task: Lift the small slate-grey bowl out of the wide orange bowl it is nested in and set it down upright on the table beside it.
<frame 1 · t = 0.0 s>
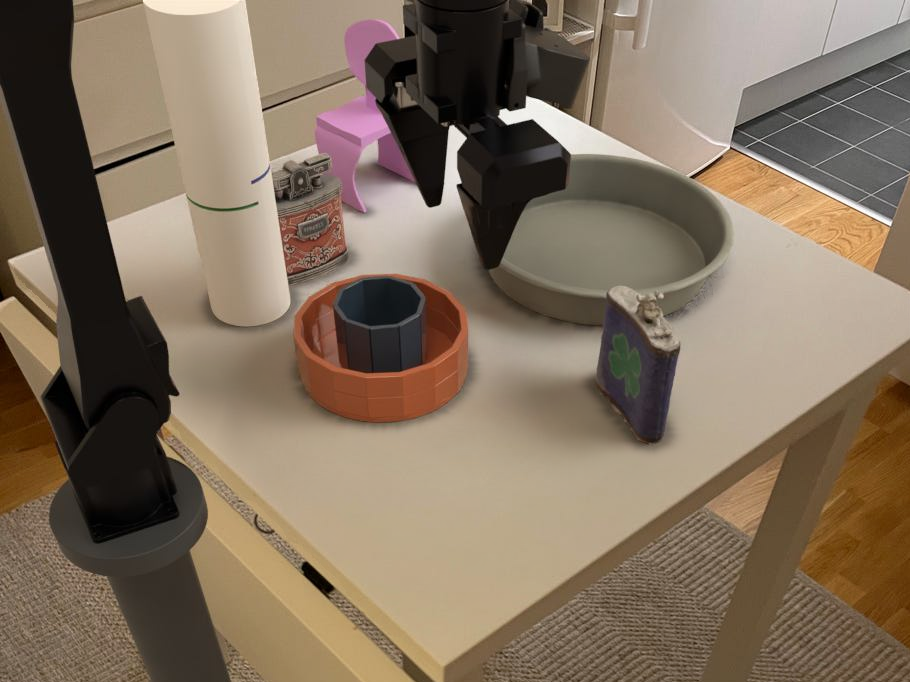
hand: (461, 235, 72), 14 cm above the table, tool pointing down, fingers open, 9 cm apart
toy chair: (370, 189, 104), on the table
small bowl: (381, 333, 82), in the orange bowl
cake pan: (595, 263, 96), on the table
cylindrical container: (251, 305, 91), on the table
lighter: (311, 269, 94), on the table
flask: (629, 411, 83), on the table
orange bowl: (384, 368, 85), on the table, touching small bowl
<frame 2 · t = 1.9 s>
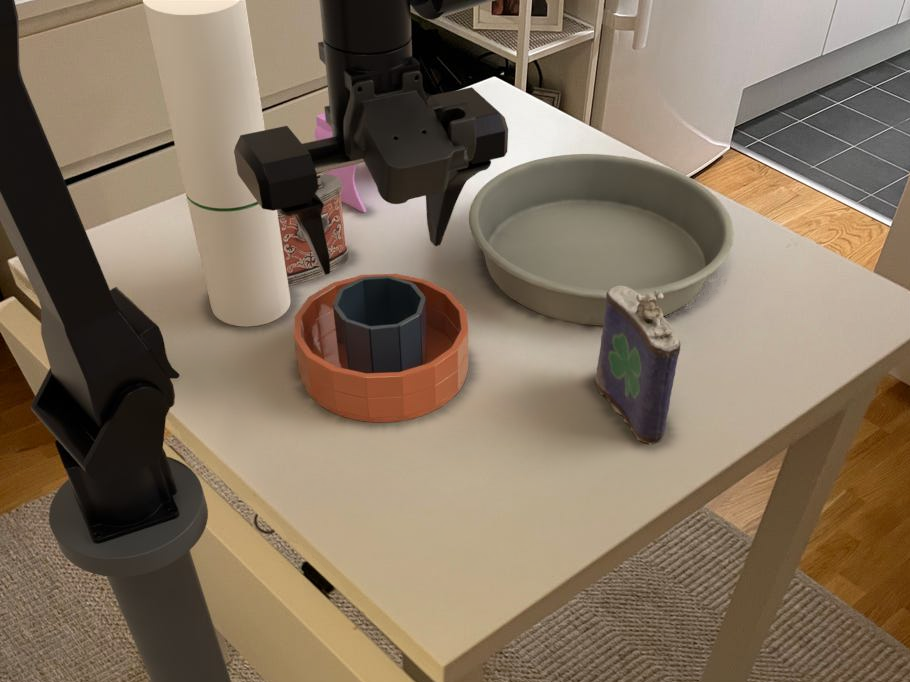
hand: (381, 257, 77), 11 cm above the table, tool pointing down, fingers open, 9 cm apart
nothing on the table moved.
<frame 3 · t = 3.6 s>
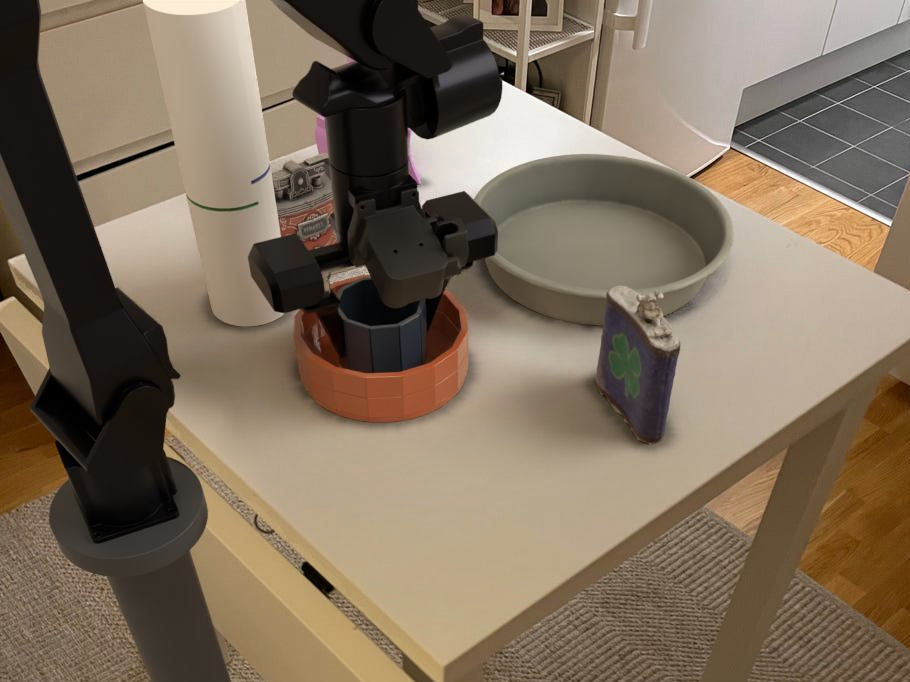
hand: (382, 343, 83), 3 cm above the table, tool pointing down, fingers closed on small bowl, 7 cm apart
small bowl: (381, 333, 82), in the orange bowl, touching gripper
everything else where it was.
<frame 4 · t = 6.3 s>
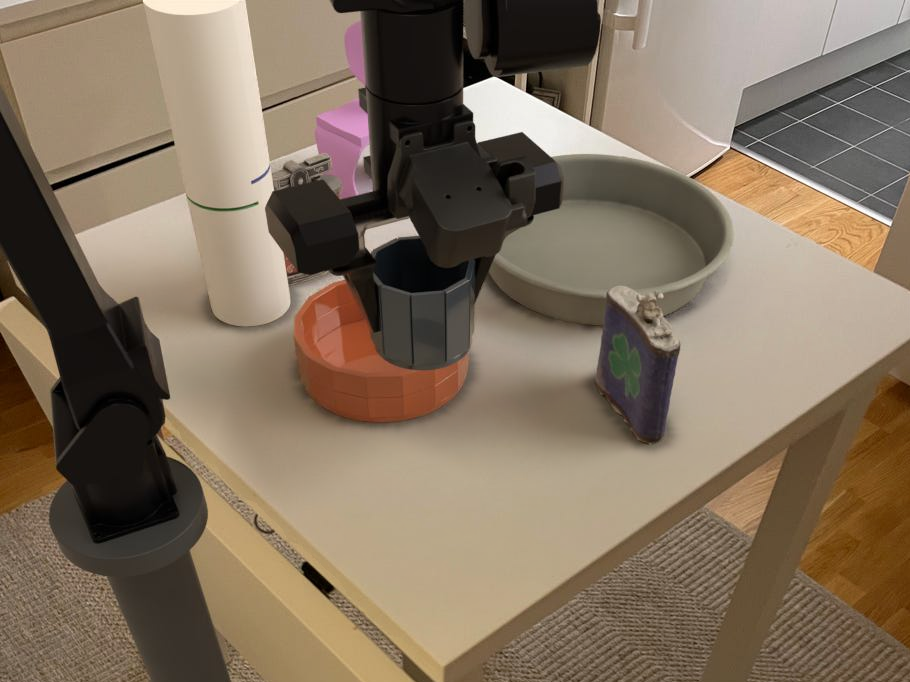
hand: (421, 315, 70), 12 cm above the table, tool pointing down, fingers closed on small bowl, 7 cm apart
small bowl: (421, 303, 69), point 13 cm above the table, touching gripper
orange bowl: (384, 368, 85), on the table
everything else where it was.
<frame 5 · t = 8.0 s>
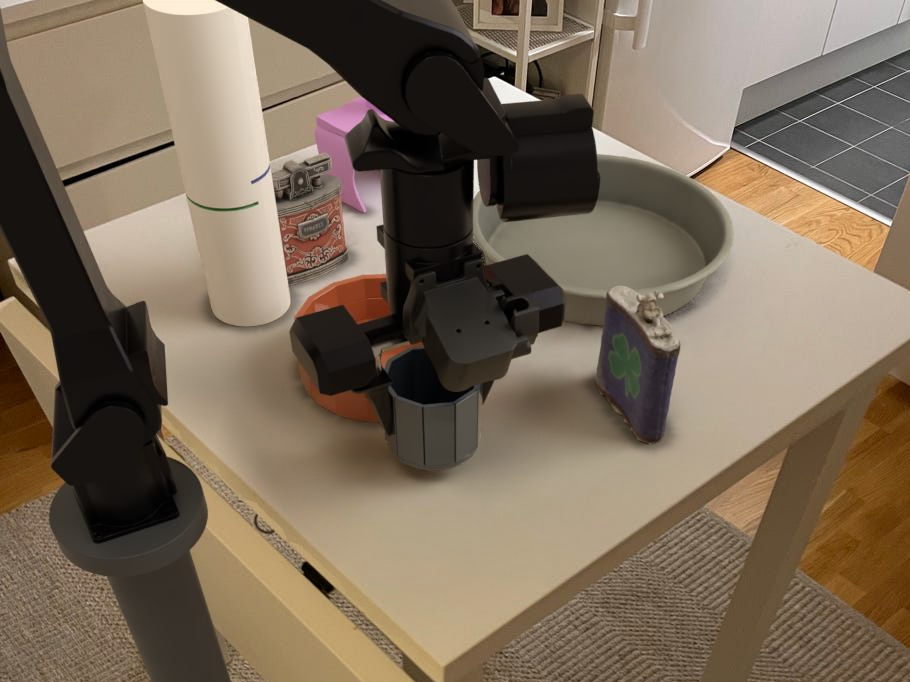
hand: (432, 418, 75), 4 cm above the table, tool pointing down, fingers closed on small bowl, 7 cm apart
small bowl: (432, 407, 75), point 5 cm above the table, touching gripper
everything else where it was.
when the fingers open (2 cm above the table, at t = 9.2 s): small bowl stays where it is, on the table.
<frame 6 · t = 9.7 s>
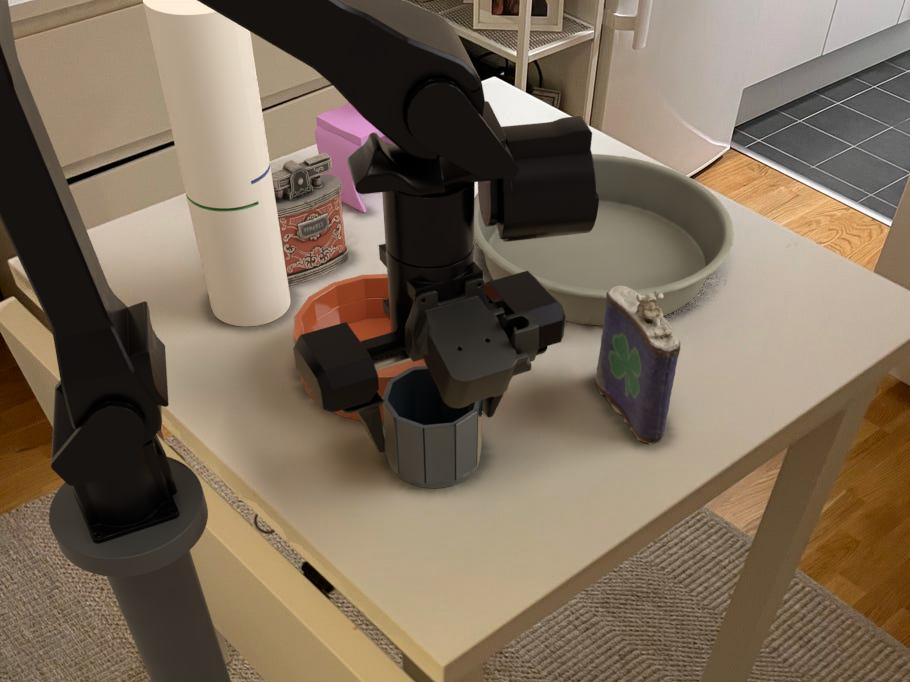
hand: (434, 431, 76), 3 cm above the table, tool pointing down, fingers open, 9 cm apart
small bowl: (433, 427, 76), on the table
everything else where it was.
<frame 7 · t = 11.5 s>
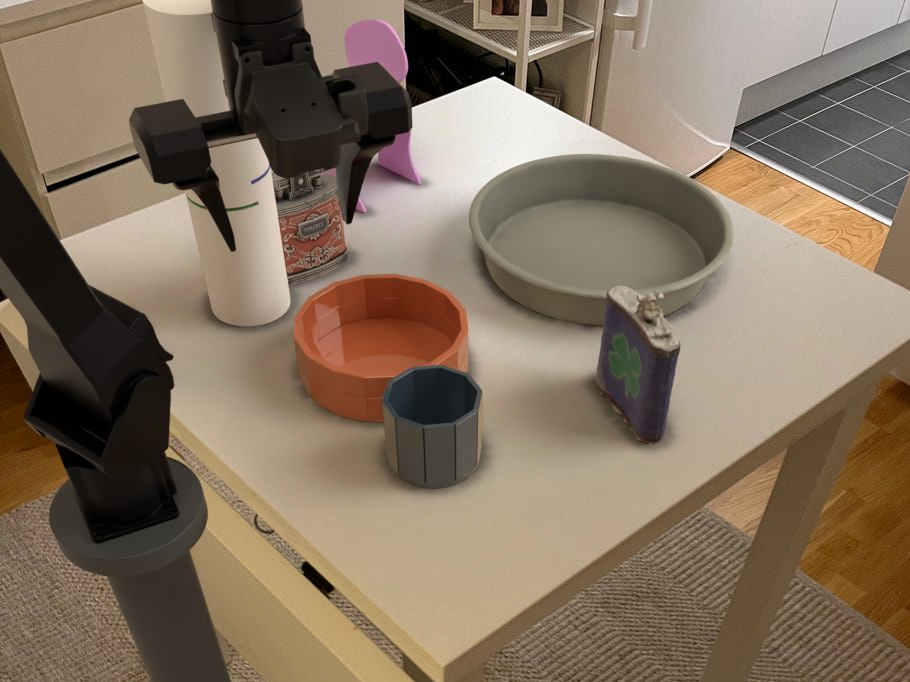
hand: (290, 235, 76), 12 cm above the table, tool pointing down, fingers open, 9 cm apart
nothing on the table moved.
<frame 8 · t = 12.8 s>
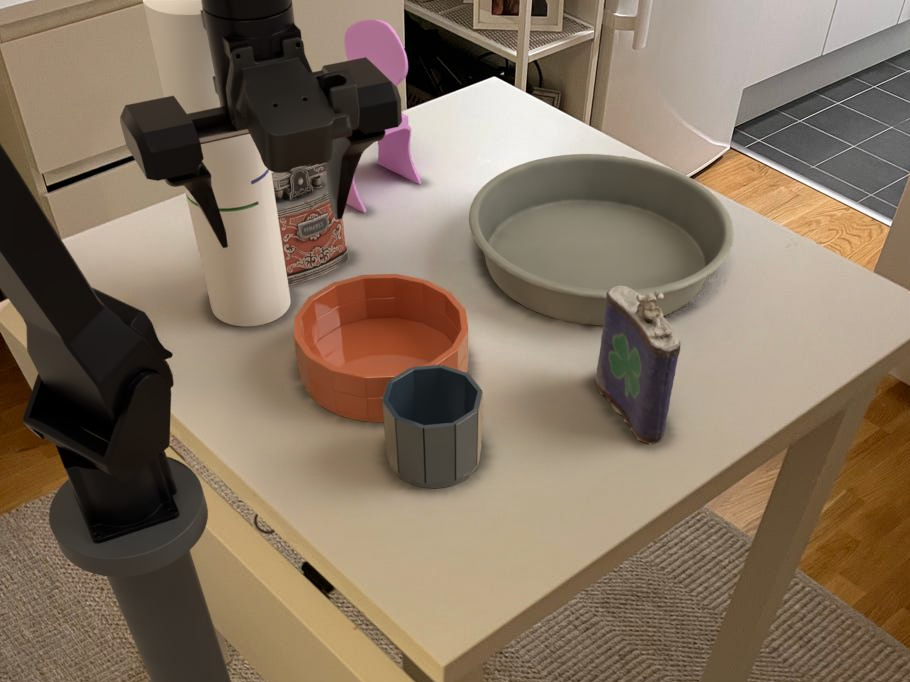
hand: (281, 230, 76), 12 cm above the table, tool pointing down, fingers open, 9 cm apart
nothing on the table moved.
at the end: small bowl inside the target area (0.0 cm from its centre), on the table; small bowl tilted 0°; orange bowl moved 0.0 cm from its start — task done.
